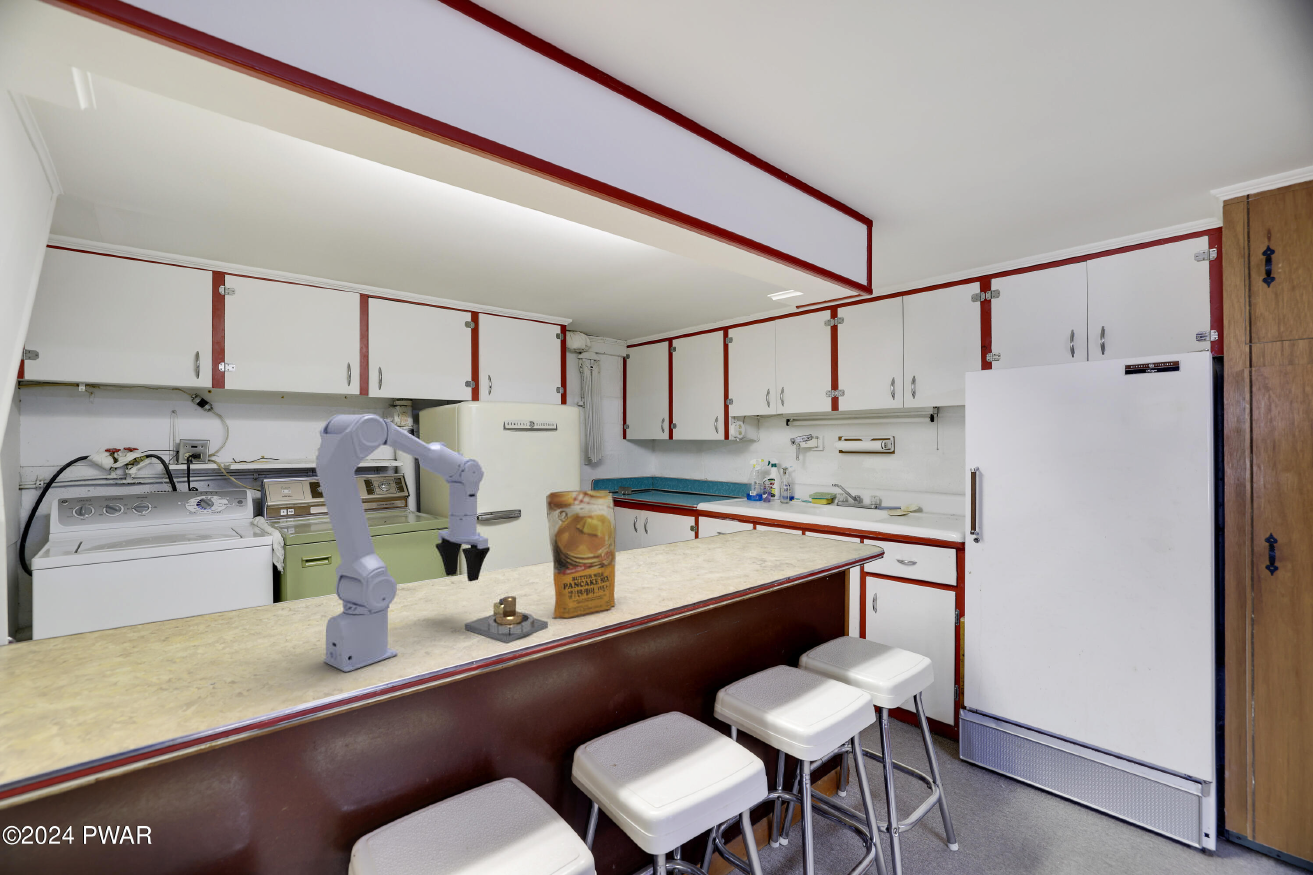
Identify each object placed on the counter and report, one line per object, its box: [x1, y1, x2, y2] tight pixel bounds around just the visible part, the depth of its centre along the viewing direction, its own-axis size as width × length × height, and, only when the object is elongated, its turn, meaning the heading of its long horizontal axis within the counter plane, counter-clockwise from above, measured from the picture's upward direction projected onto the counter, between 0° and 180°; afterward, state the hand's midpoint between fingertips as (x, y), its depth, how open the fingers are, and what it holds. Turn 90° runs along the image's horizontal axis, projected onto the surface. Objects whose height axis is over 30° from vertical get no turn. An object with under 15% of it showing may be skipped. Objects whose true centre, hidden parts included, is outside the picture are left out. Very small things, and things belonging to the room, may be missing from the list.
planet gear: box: [496, 595, 522, 625], centre depth 113 cm, size 5×5×6 cm
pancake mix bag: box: [545, 489, 617, 619], centre depth 128 cm, size 7×19×28 cm, turn 126°
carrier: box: [464, 597, 549, 644], centre depth 116 cm, size 11×14×5 cm
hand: (461, 577), depth 118 cm, fingers open, 7 cm apart
